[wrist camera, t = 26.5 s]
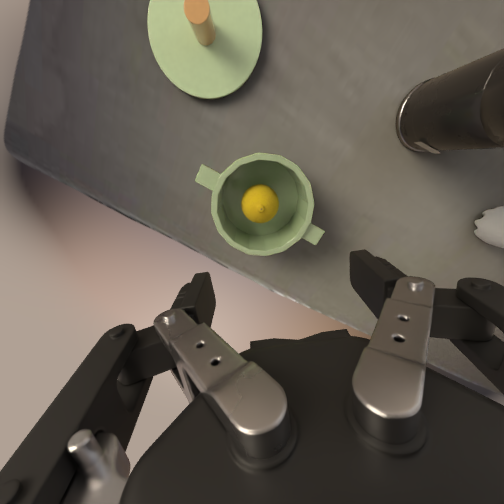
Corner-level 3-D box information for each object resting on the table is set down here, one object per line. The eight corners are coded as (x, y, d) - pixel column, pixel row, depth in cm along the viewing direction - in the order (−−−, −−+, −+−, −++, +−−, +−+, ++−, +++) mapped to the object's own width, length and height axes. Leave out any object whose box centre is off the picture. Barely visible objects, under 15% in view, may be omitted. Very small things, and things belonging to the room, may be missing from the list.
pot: (226, 127, 36) (220, 119, 29) (331, 189, 40) (350, 196, 32) (190, 208, 41) (176, 219, 33) (288, 257, 44) (296, 278, 36)
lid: (176, -69, 29) (155, -131, 23) (282, 8, 31) (290, -29, 25) (135, 63, 33) (109, 41, 27) (231, 120, 36) (227, 112, 30)
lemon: (259, 222, 41) (261, 237, 34) (234, 199, 40) (231, 209, 32) (283, 199, 40) (290, 208, 32) (258, 174, 38) (261, 178, 31)
